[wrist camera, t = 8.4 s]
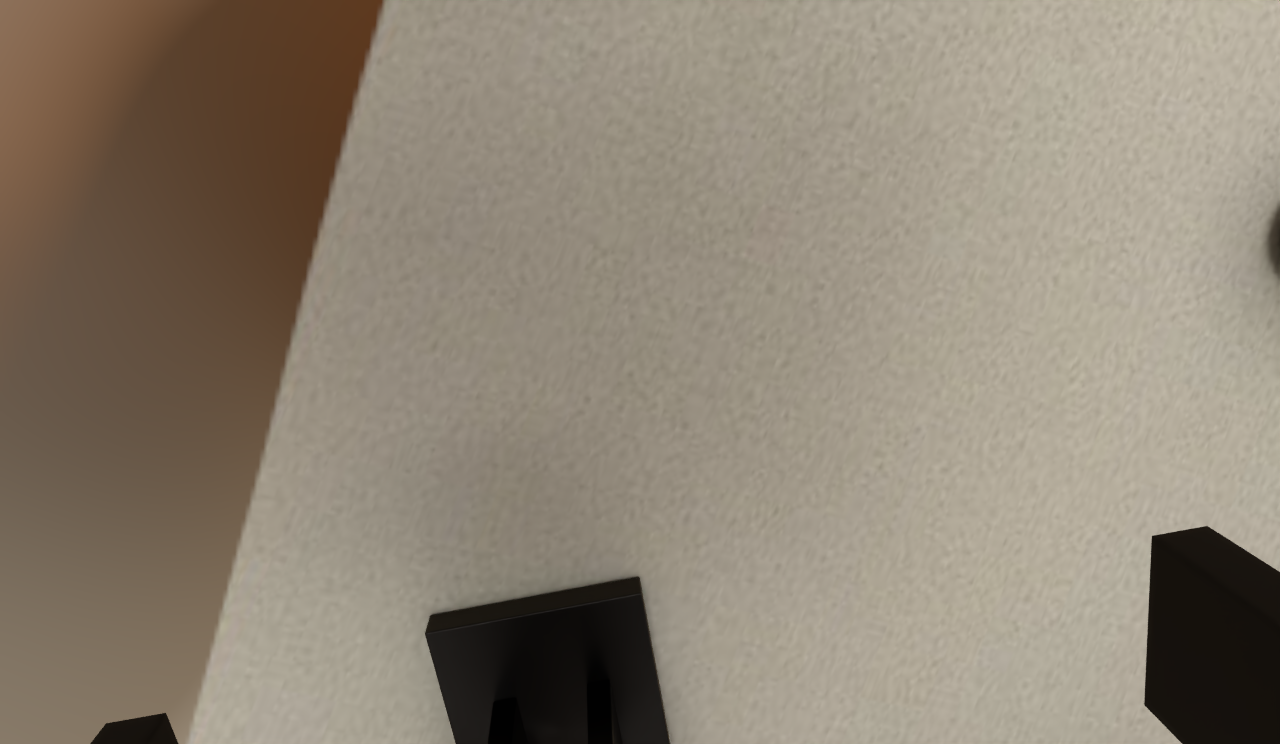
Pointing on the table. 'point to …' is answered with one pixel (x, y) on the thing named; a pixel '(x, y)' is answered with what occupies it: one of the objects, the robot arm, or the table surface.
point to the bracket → (551, 669)
